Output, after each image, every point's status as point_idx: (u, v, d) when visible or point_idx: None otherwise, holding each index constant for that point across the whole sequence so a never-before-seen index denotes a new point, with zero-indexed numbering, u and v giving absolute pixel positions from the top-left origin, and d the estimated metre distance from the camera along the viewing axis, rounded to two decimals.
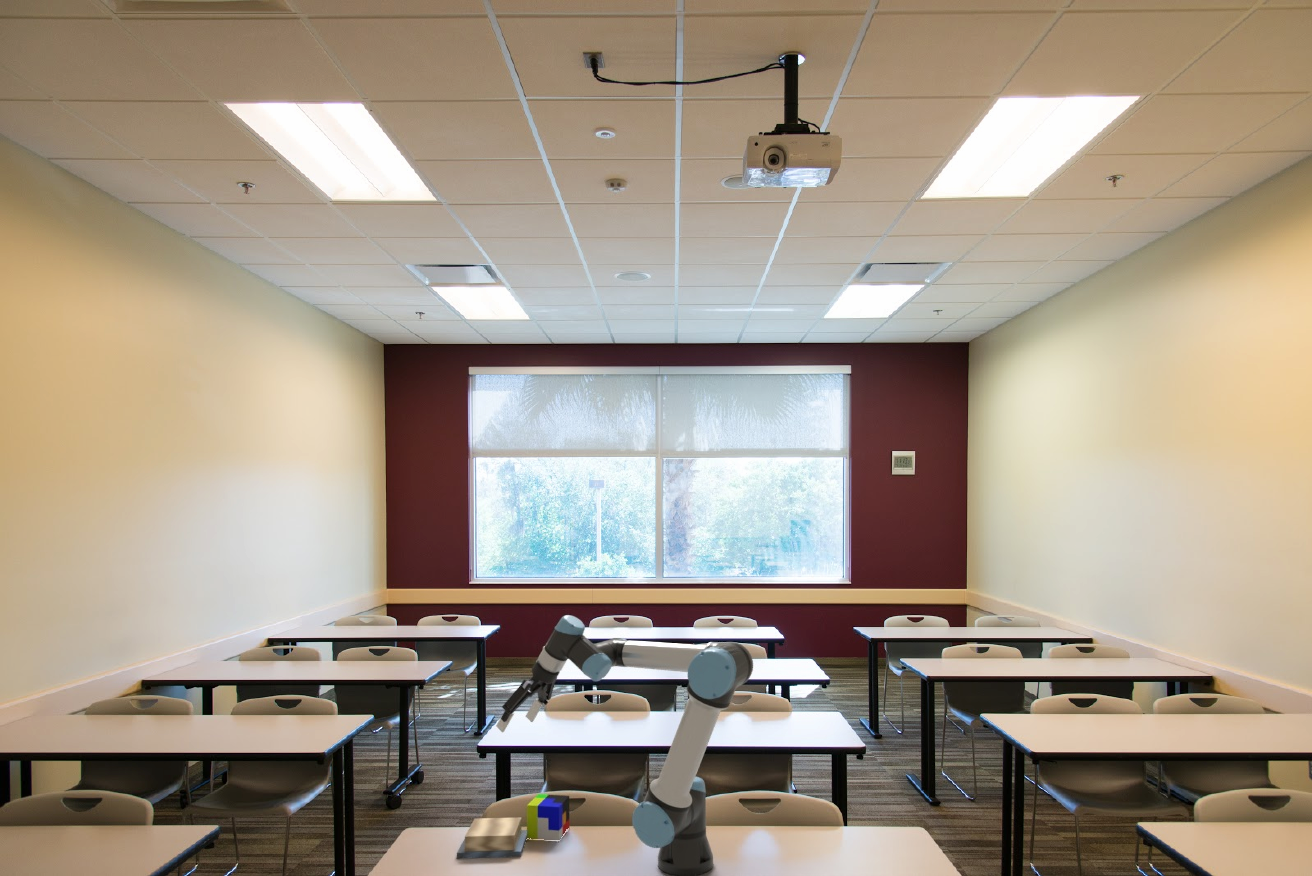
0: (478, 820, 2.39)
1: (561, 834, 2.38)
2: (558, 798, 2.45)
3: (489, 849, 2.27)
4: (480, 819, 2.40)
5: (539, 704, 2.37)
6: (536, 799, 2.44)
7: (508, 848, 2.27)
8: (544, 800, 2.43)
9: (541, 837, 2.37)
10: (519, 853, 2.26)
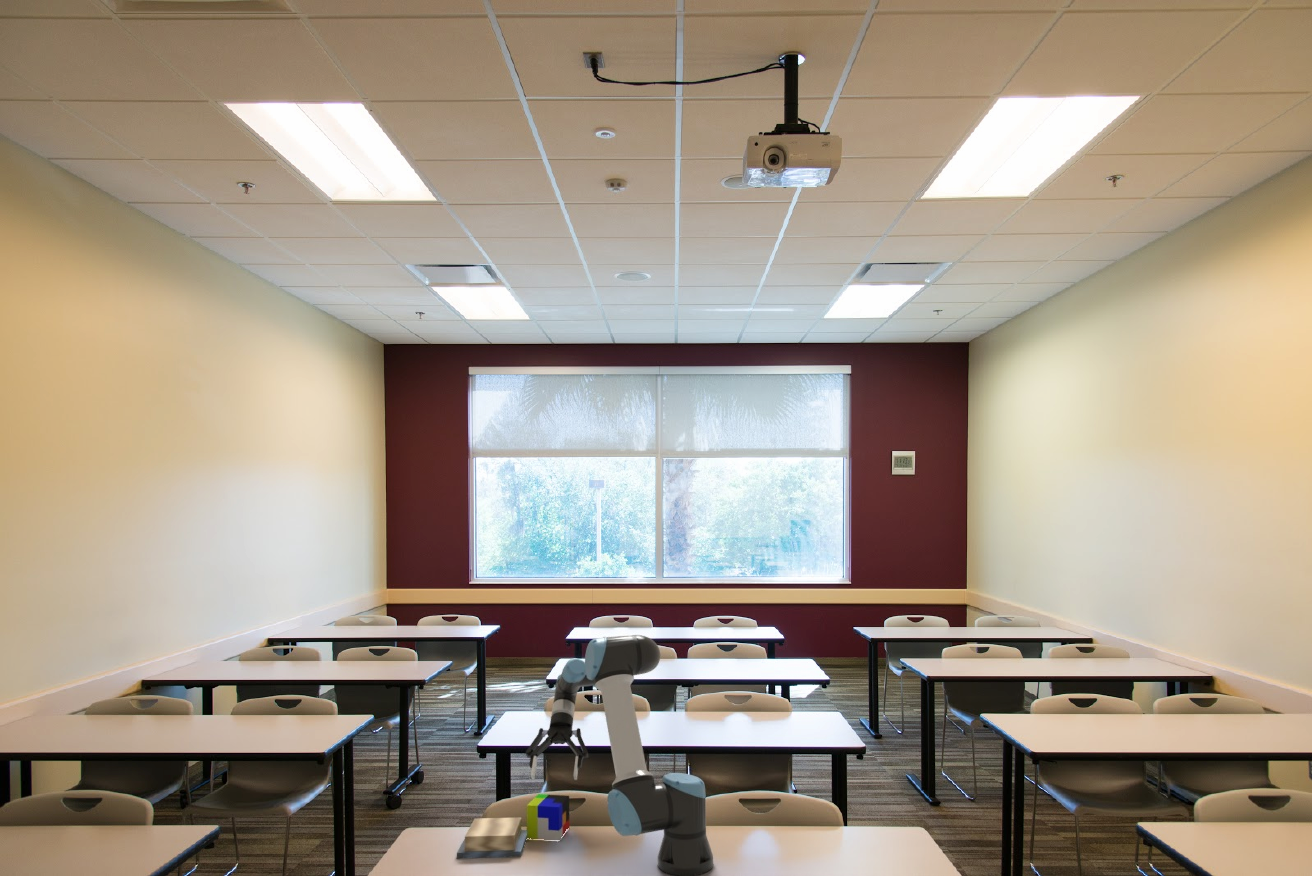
0: (478, 820, 2.39)
1: (561, 834, 2.38)
2: (558, 798, 2.45)
3: (489, 849, 2.27)
4: (480, 819, 2.40)
5: None
6: (536, 799, 2.44)
7: (508, 848, 2.27)
8: (544, 800, 2.43)
9: (541, 837, 2.37)
10: (519, 853, 2.26)
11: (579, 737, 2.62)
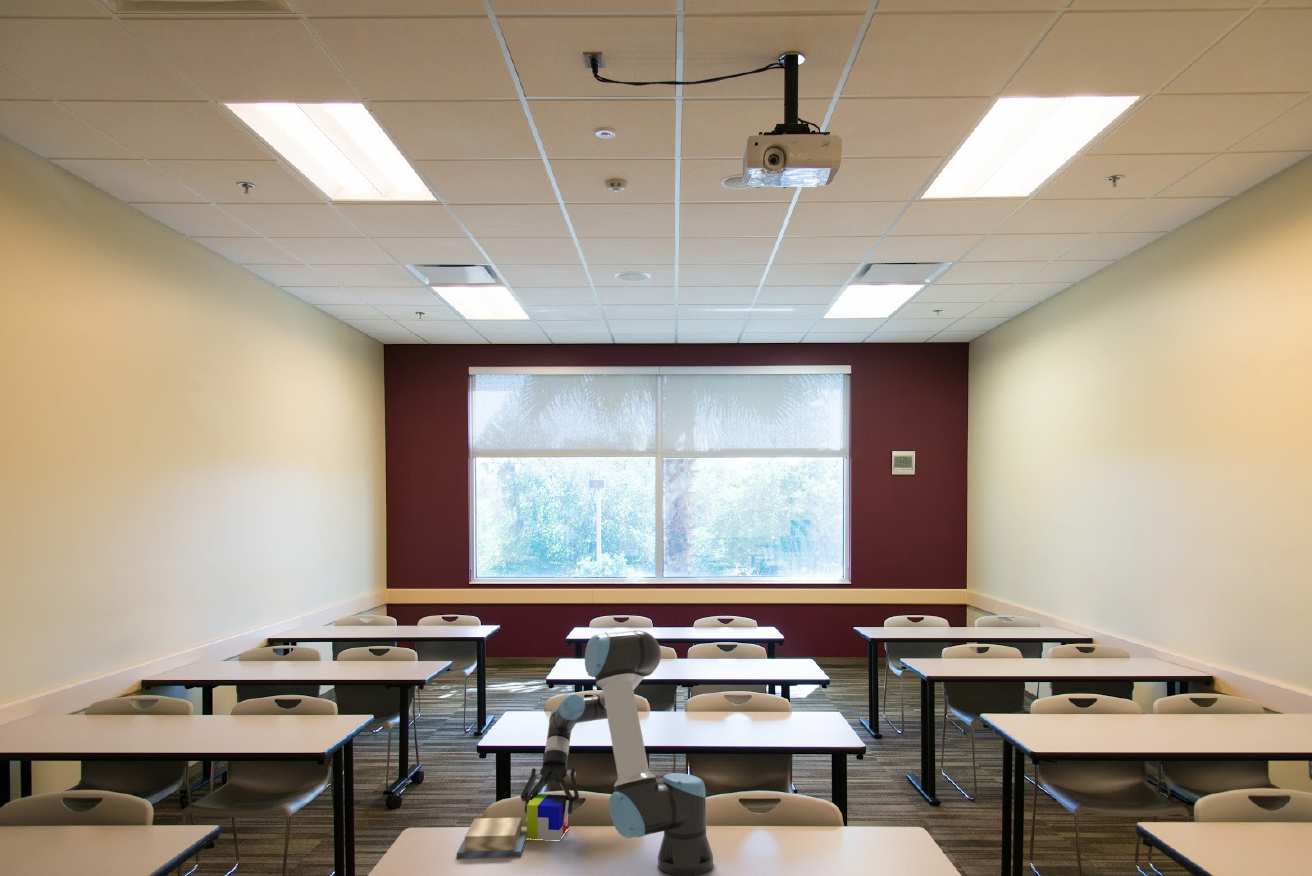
0: (478, 820, 2.39)
1: (561, 834, 2.38)
2: (557, 797, 2.45)
3: (489, 849, 2.27)
4: (480, 819, 2.40)
5: (566, 802, 2.43)
6: (536, 799, 2.44)
7: (508, 848, 2.27)
8: (544, 799, 2.43)
9: (541, 837, 2.37)
10: (519, 853, 2.26)
11: (572, 778, 2.48)
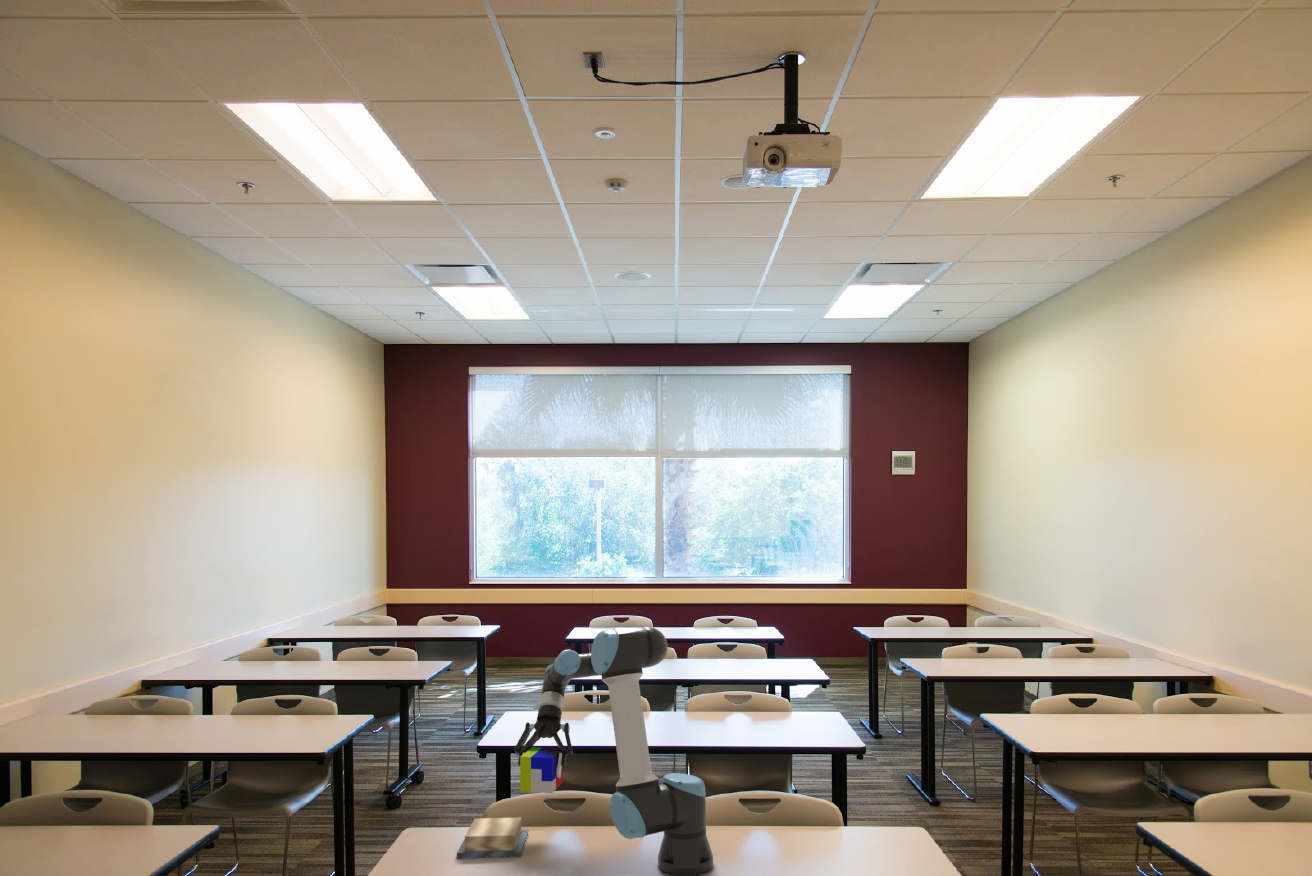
0: (478, 820, 2.39)
1: (554, 785, 2.39)
2: (551, 750, 2.46)
3: (489, 849, 2.27)
4: (480, 819, 2.40)
5: None
6: (529, 751, 2.45)
7: (508, 848, 2.27)
8: (537, 752, 2.44)
9: (534, 788, 2.38)
10: (519, 853, 2.26)
11: (566, 732, 2.49)
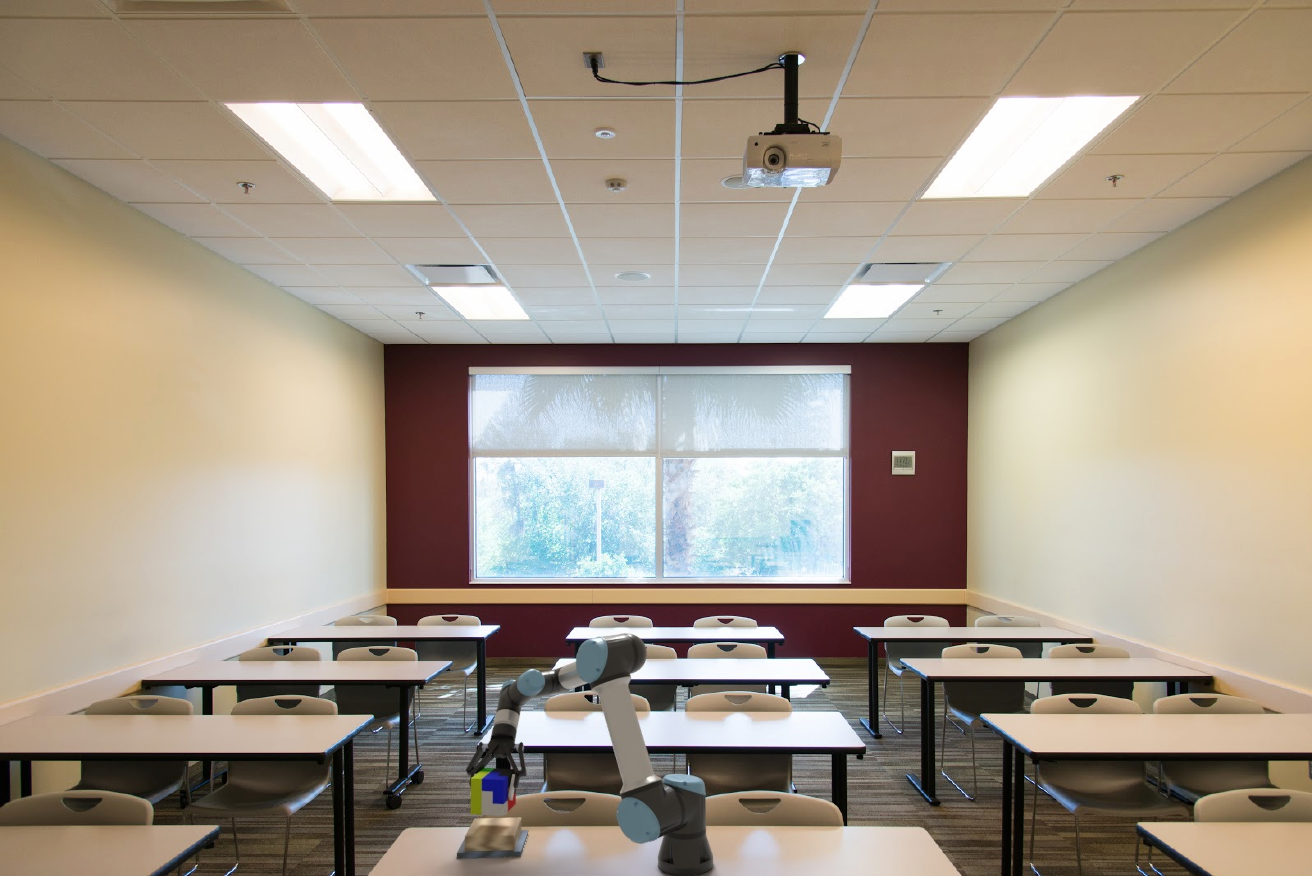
0: (478, 820, 2.39)
1: (506, 808, 2.31)
2: (504, 771, 2.38)
3: (489, 849, 2.27)
4: (480, 819, 2.40)
5: None
6: (481, 772, 2.37)
7: (508, 848, 2.27)
8: (489, 773, 2.36)
9: (485, 811, 2.30)
10: (519, 853, 2.26)
11: (520, 752, 2.41)
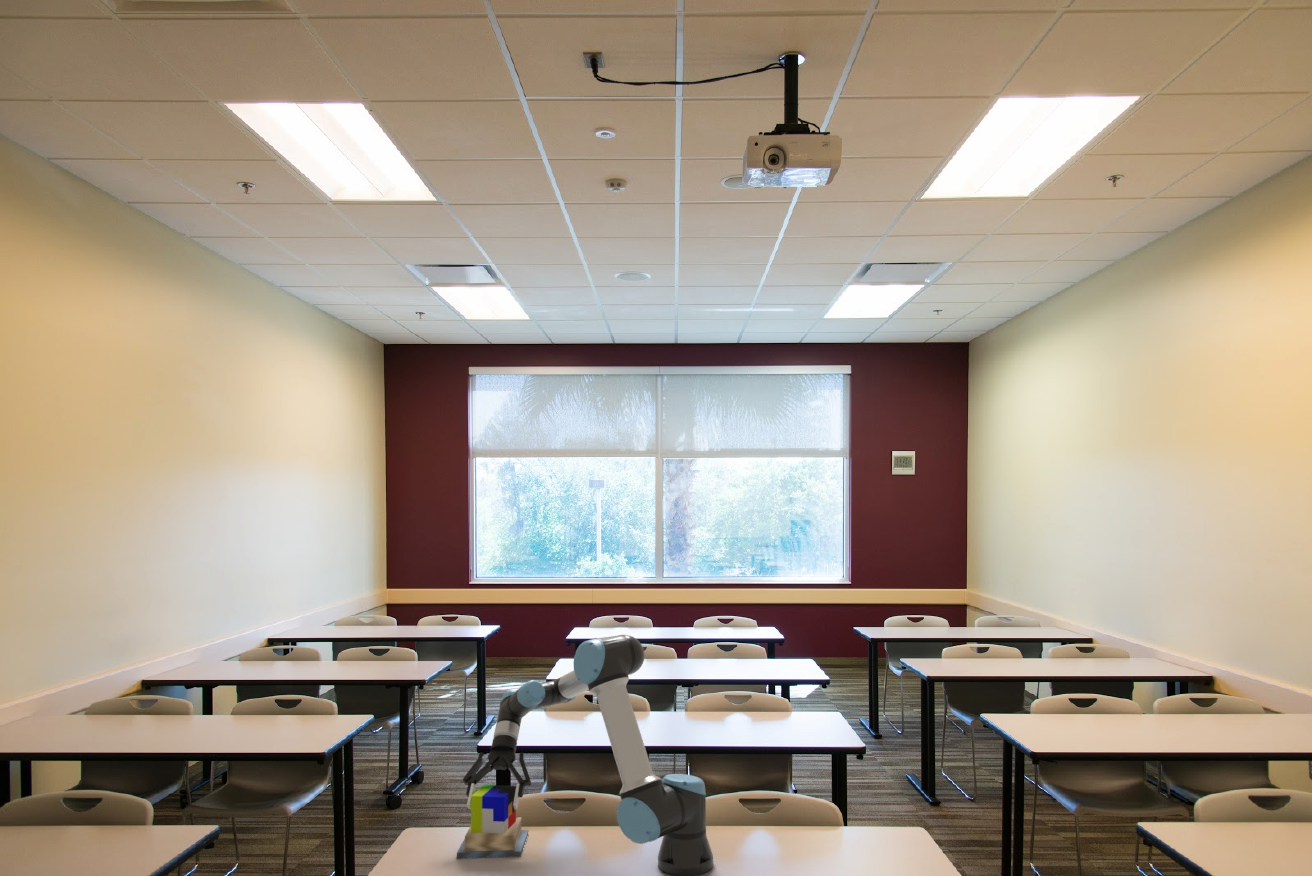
0: None
1: (506, 825, 2.31)
2: (504, 788, 2.37)
3: (489, 849, 2.27)
4: None
5: None
6: (481, 790, 2.36)
7: (508, 848, 2.27)
8: (489, 790, 2.35)
9: (486, 829, 2.29)
10: (519, 853, 2.26)
11: (522, 762, 2.41)
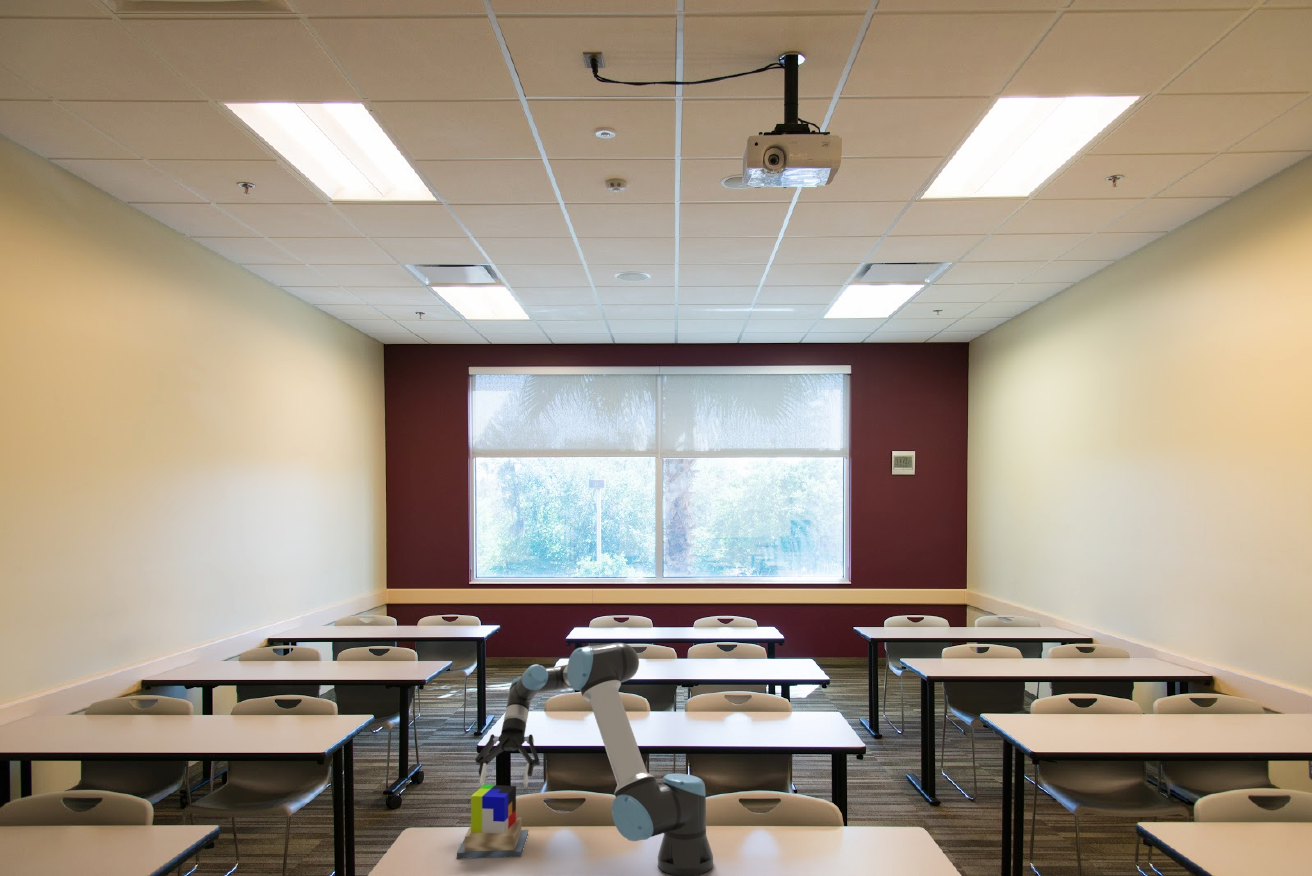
0: None
1: (506, 825, 2.31)
2: (504, 788, 2.37)
3: (489, 849, 2.27)
4: None
5: None
6: (481, 790, 2.36)
7: (508, 848, 2.27)
8: (489, 790, 2.35)
9: (486, 829, 2.29)
10: (519, 853, 2.26)
11: (531, 744, 2.54)
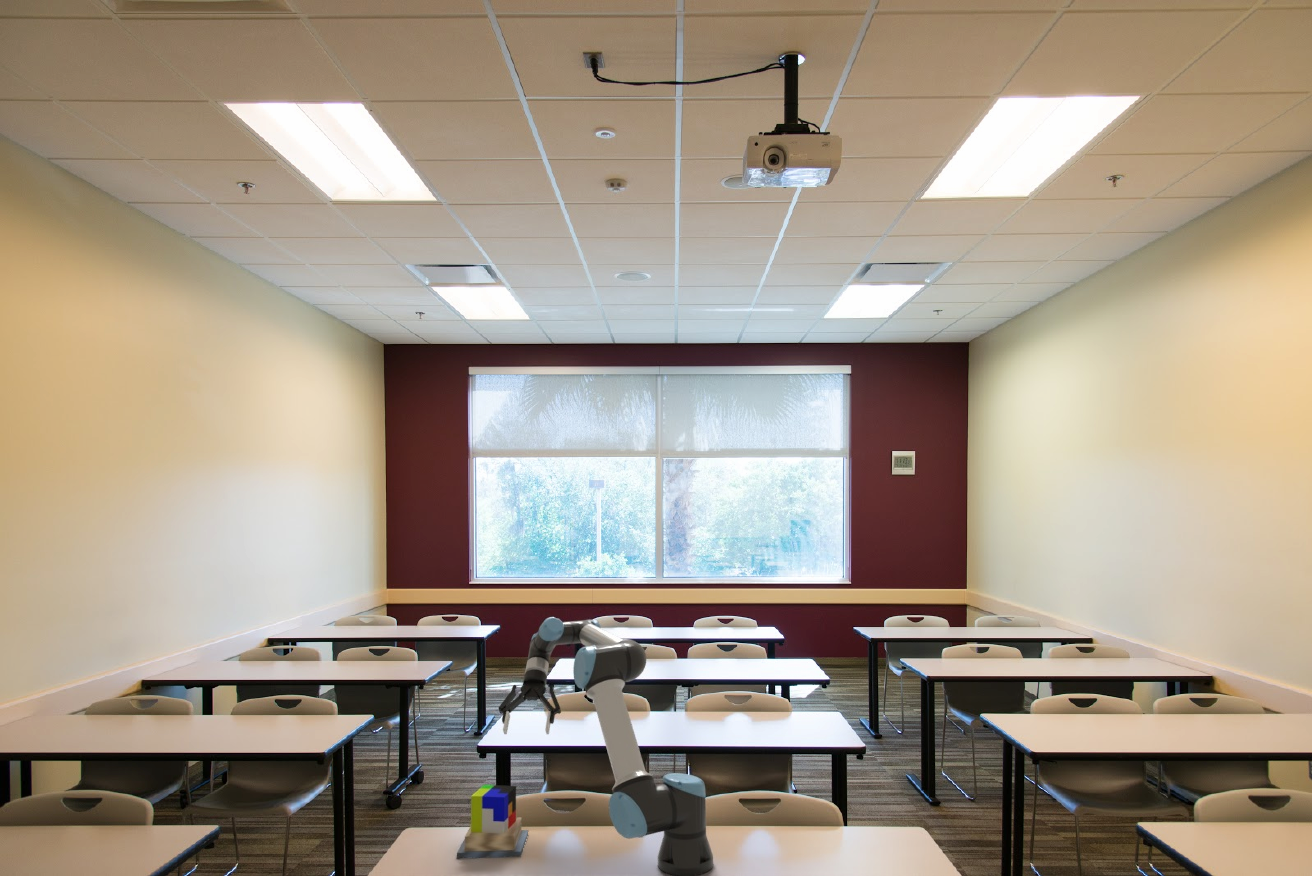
0: None
1: (506, 825, 2.31)
2: (504, 788, 2.37)
3: (489, 849, 2.27)
4: None
5: None
6: (481, 790, 2.36)
7: (508, 848, 2.27)
8: (489, 790, 2.35)
9: (486, 829, 2.29)
10: (519, 853, 2.26)
11: (552, 693, 2.63)
